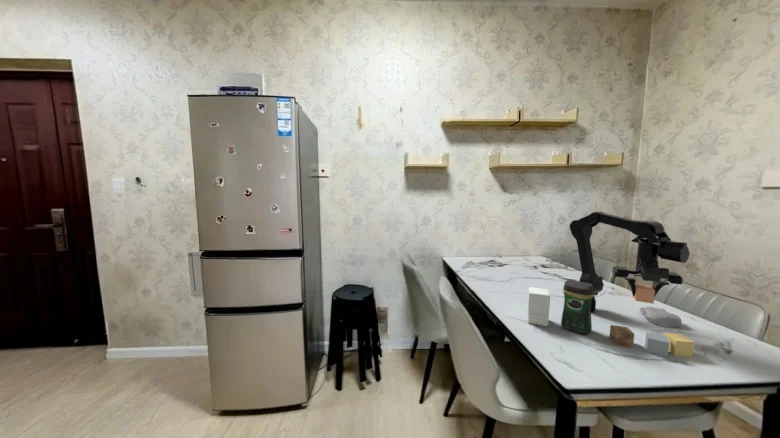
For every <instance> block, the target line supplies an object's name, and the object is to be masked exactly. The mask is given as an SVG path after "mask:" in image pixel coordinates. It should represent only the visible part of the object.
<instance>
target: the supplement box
mask: <svg viewBox="0 0 780 438" xmlns="http://www.w3.org/2000/svg"><path fill="white" fill-rule="evenodd" d="M527 300H528V302H527V315H526V316H527V324H530V323H531V324H532V325H536V324H537V326H541V327H542V326H544V327H549V319H550V307H551V306H550V303H551V294H550V292H549V289H545V288H539V287H532V286H531V287H530V286H529V287H528V299H527Z"/></svg>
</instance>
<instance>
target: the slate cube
mask: <svg viewBox="0 0 780 438" xmlns="http://www.w3.org/2000/svg"><path fill="white" fill-rule="evenodd" d="M644 347H645V351H646V353H649V354H652V355H656V356H660V357H664V358H669V351H668V350H669V341H668V338H667V336H664V334H663V335H662V334H658V333H654V332H649V331H646V332H645V341H644Z"/></svg>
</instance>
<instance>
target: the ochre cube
mask: <svg viewBox="0 0 780 438" xmlns="http://www.w3.org/2000/svg"><path fill="white" fill-rule="evenodd" d="M663 336H667V338H668V341H669V350H668V353H670V354H671V355H674V356H675V357H676V356H679V357H690V358H691V357H693V354H694V347H695V341H693V340H692V339H690V338H688V337H687V336H685V335H683V334H682V333H672V332H671V333H669V332H663Z"/></svg>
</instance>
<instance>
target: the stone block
mask: <svg viewBox="0 0 780 438" xmlns="http://www.w3.org/2000/svg"><path fill="white" fill-rule="evenodd" d="M639 312H640V314H641V315H642V316H643V317H644V319H646V321H648V323H650V324H653V325H655V326H658V327H665V328H668V327H669V328H670V327H671V328H681V327H682V322H683V321H682V319H681V317H680V316H678V315H677V314H675V313H670V312H668V311H667V310H666V309H665V308H663V307H662V308H659V307H655V306H654V307H652V306H645V307H643V306H642V307H641V308H639Z"/></svg>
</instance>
